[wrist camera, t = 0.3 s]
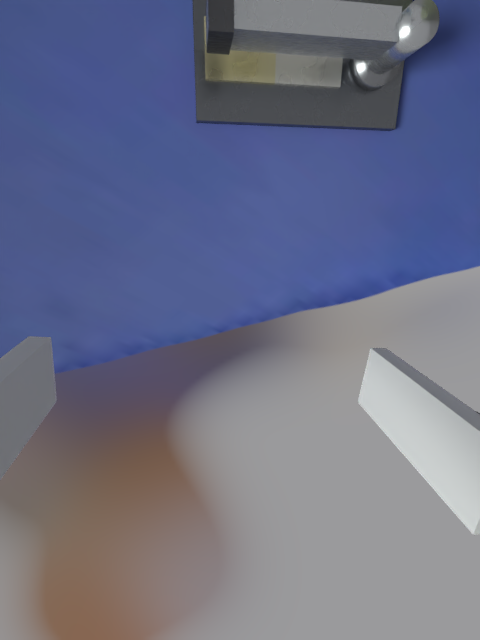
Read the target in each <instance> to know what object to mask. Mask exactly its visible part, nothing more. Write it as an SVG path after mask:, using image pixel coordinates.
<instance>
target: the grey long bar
mask: <svg viewBox="0 0 480 640" xmlns="http://www.w3.org/2000/svg"><path fill="white" fill-rule="evenodd" d="M438 26H439V11H438V8H437V6H436V5H435V3H434V2H433V1H432V0H415V1H413V2H412V3H411V4H410V5H409V6H408V7H407V8H406V9H405V10H404V11H403V12H402V6H392V5H382V4H372V3H362V2H351V1H341V0H206V47H207V53H212V54H226V55H229V52H230V50H234V51H248V52H262V53H275V54H289V55H303V56H317V57H331V58H344V59H358V60H367V64H368V67H369V68H370V70H371V71H372V72H374V73H376V74H384V73H386V72H388V71H389V70H391V69H392V68H393V67H395V66H396V65H398V64H399V63H400V62H402V61H403V60H405V59H406V58H407V57H409V56H410V55H411V54H413V53H414V52H416V51H417V50H418V49H420V48H421V47H422V46H424V45H425V44H427V43H428V42H429V41H430V40H431V39H432V38H433V37H434V36H435V34H436V32H437V29H438Z"/></svg>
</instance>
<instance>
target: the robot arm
mask: <svg viewBox="0 0 480 640" xmlns="http://www.w3.org/2000/svg"><path fill="white" fill-rule="evenodd" d="M56 401H57V400H56V388H55V377H54V366H53V355H52V344H51V337H28V338H26V339H25V340H24V341H22V342H21V343H20V344H18V345H17V346H16V347H14V348H13V349H12V350H11V351H9V352H8V353H7V354H5V355H4V356H3V357H1V358H0V480H1V478H2V477H3V475H4V474H5V472H6V471H7V470H8V468H9V467H10V466H11V464H12V463H13V461H14V460H15V459H16V457H17V456H18V454H19V453H20V452H21V450H22V449H23V447H24V446H25V444H26V443H27V442H28V440H29V439H30V438H31V436H32V435H33V433H34V432H35V431H36V429H37V428H38V426H39V425H40V424H41V422H42V421H43V419H44V418H45V416H46V415H47V414H48V412H49V411H50V409H51V408H52V407H53V405H54V404H55V402H56ZM358 403H359V404H360V405H361V406H362V407H363V409H365V411H366V412H367V413H368V414H369V415H370V417H371V418H372V419H373V420H374V421H375V422H376V423H377V425H378V426H379V427H380V428H381V429H382V430H383V432H384V433H385V434H386V435H387V436H388V437H389V438H390V439H391V441H392V442H393V443H394V444H395V445H396V447H397V448H398V449H399V450H400V451H401V452H402V453H403V455H404V456H405V457H406V458H407V459H408V460H409V461H410V463H411V464H412V465H413V466H414V467H415V468H416V469H417V470H418V472H419V473H420V474H421V475H422V476H423V477H424V479H425V480H426V481H427V482H428V483H429V484H430V485H431V487H432V488H433V489H434V490H435V491H436V493H437V494H438V495H439V496H440V497H441V498H442V499H443V501H444V502H445V503H446V504H447V505H448V506H449V507H450V508H451V510H452V511H453V512H454V513H455V514H456V515H457V517H458V518H459V519H460V520H461V521H462V522H463V523H464V525H465V526H466V527H467V528H468V529H469V530H470V532H471V533H472V534H480V413H478V412H476V411H474V410H473V409H471V408H470V407H468V406H467V405H466V404H464V403H463V402H461V401H460V400H459V399H457V398H456V397H454V396H453V395H451V394H450V393H448V392H447V391H446V390H444V389H443V388H442V387H440V386H439V385H437V384H436V383H434V382H433V381H432V380H430V379H429V378H427V377H426V376H425V375H423V374H422V373H420V372H419V371H417V370H416V369H414V368H413V367H412V366H410V365H409V364H408V363H406V362H405V361H403V360H402V359H400V358H399V357H397V356H396V355H395V354H393V353H392V352H391V351H389V350H387V349H385V348H370V352H369V357H368V361H367V365H366V370H365V374H364V378H363V383H362V387H361V391H360V395H359V399H358Z"/></svg>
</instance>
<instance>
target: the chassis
mask: <svg viewBox="0 0 480 640" xmlns="http://www.w3.org/2000/svg"><path fill="white" fill-rule="evenodd" d="M341 1H351V2H362V3H372V4H382V5H392V6H402V12H403V11H404V10H405V9H406V8H407V7H408V6H409V5H410V4H411V3H412V1H413V0H341ZM193 29H194V59H195V90H196V120H197V123H212V124H236V125H260V126H284V127H308V128H332V129H356V130H380V131H391V130H393V129H395V126H396V119H397V111H398V104H399V97H400V89H401V82H402V75H403V67H404V60H403V61H402V62H400V63H399V64H398V65H396V66H395V67H393V68H392V69H391V70H389V71H388V72H386V73H384V74H376V73H374V72H372V71H371V70H370V68H369V67H368V64H367V60H358V59H344V58H331V57H317V56H303V55H289V54H275V53H262V52H248V51H234V50H230V52H229V55H226V54H212V53H207V47H206V0H193Z"/></svg>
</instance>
